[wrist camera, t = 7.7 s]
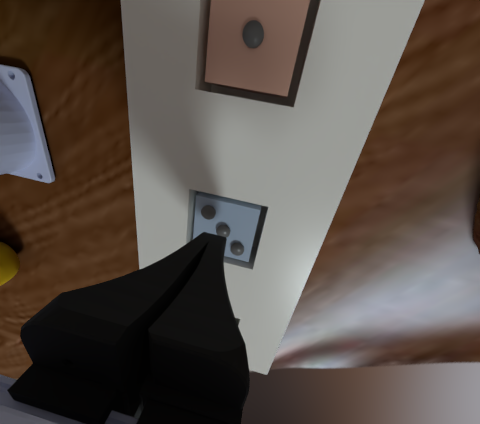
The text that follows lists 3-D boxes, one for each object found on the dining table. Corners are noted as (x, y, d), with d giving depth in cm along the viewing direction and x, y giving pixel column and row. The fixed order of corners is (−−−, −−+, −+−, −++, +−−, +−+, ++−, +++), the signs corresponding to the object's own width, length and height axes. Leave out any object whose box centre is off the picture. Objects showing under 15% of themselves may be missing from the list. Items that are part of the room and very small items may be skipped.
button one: (218, 86, 12) (203, 80, 10) (227, -7, 10) (212, -40, 8) (286, 98, 12) (287, 96, 10) (308, 4, 10) (316, -26, 8)
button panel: (160, 312, 23) (144, 338, 20) (155, -69, 10) (111, -132, 8) (268, 342, 22) (266, 374, 19) (413, -39, 9) (465, -98, 7)
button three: (203, 230, 17) (191, 249, 15) (208, 183, 15) (194, 196, 13) (252, 242, 16) (247, 263, 14) (263, 195, 15) (260, 211, 12)
